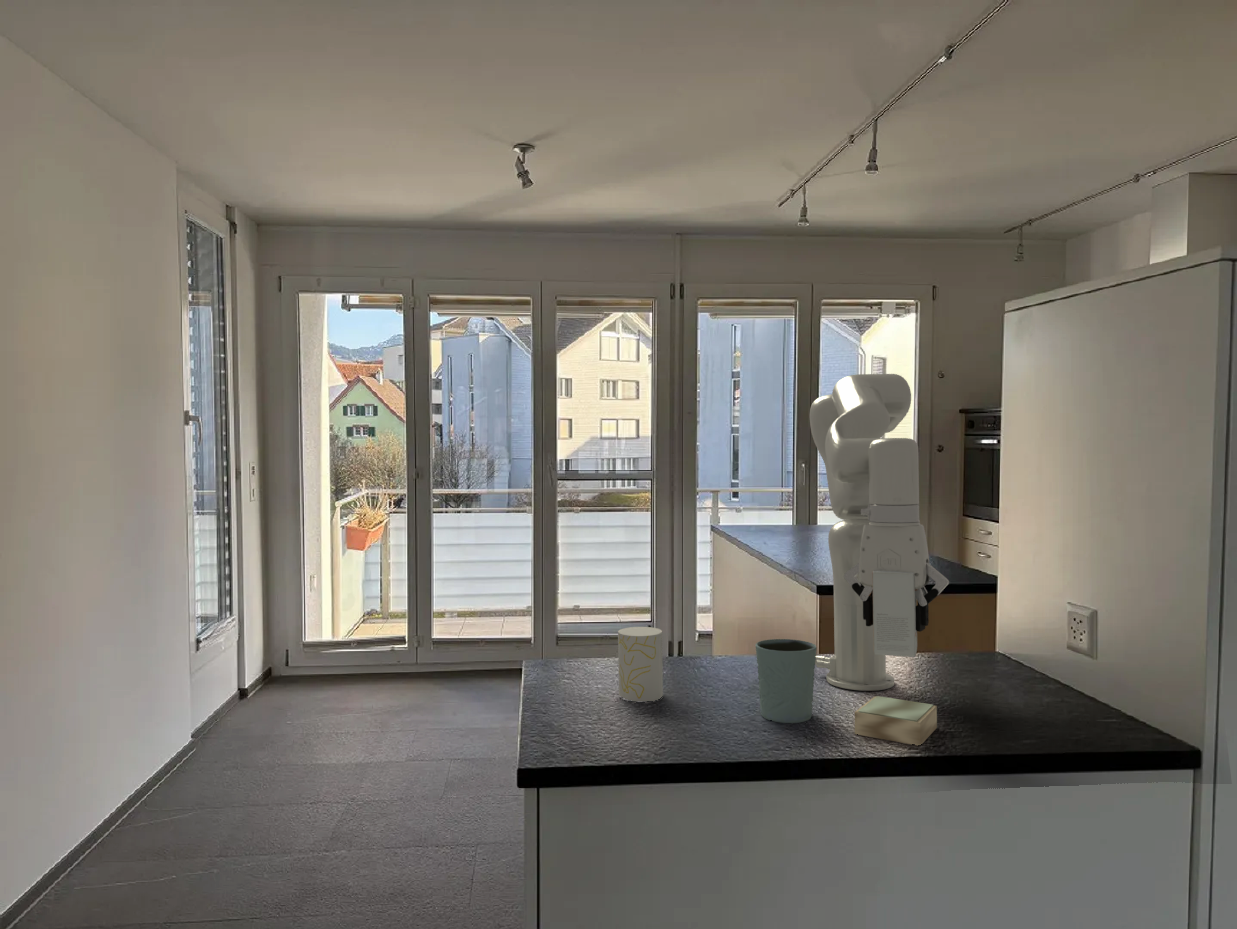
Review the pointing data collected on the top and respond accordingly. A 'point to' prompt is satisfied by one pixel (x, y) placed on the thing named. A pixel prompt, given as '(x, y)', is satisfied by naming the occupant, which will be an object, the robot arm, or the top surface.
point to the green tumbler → (786, 679)
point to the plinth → (896, 720)
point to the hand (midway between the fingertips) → (895, 626)
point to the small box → (894, 614)
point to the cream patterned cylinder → (640, 663)
